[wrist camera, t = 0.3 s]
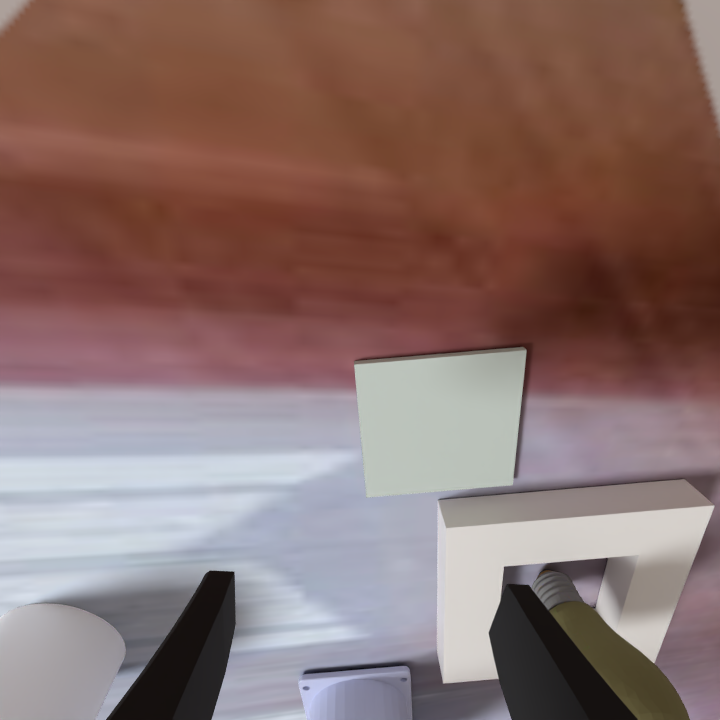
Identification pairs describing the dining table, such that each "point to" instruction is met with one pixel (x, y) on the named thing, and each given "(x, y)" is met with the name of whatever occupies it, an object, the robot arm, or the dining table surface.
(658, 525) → the socket block
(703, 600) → the dining table surface
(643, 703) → the light bulb
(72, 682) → the cup
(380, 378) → the rubber pad
